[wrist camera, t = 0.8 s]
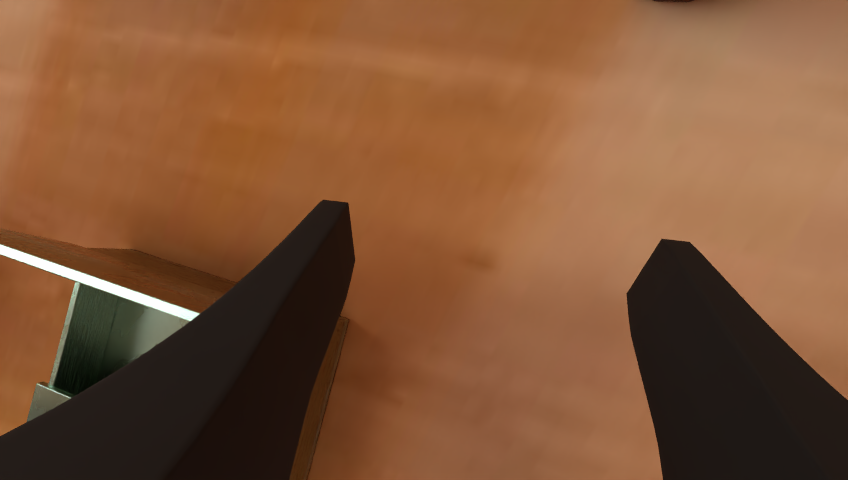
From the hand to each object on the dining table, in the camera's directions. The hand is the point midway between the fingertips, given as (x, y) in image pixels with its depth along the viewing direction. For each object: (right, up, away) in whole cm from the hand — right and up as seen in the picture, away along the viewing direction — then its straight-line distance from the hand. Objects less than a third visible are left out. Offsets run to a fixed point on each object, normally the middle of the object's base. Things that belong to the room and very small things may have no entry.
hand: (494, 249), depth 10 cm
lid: (-16, -2, +10) cm, 19 cm away
